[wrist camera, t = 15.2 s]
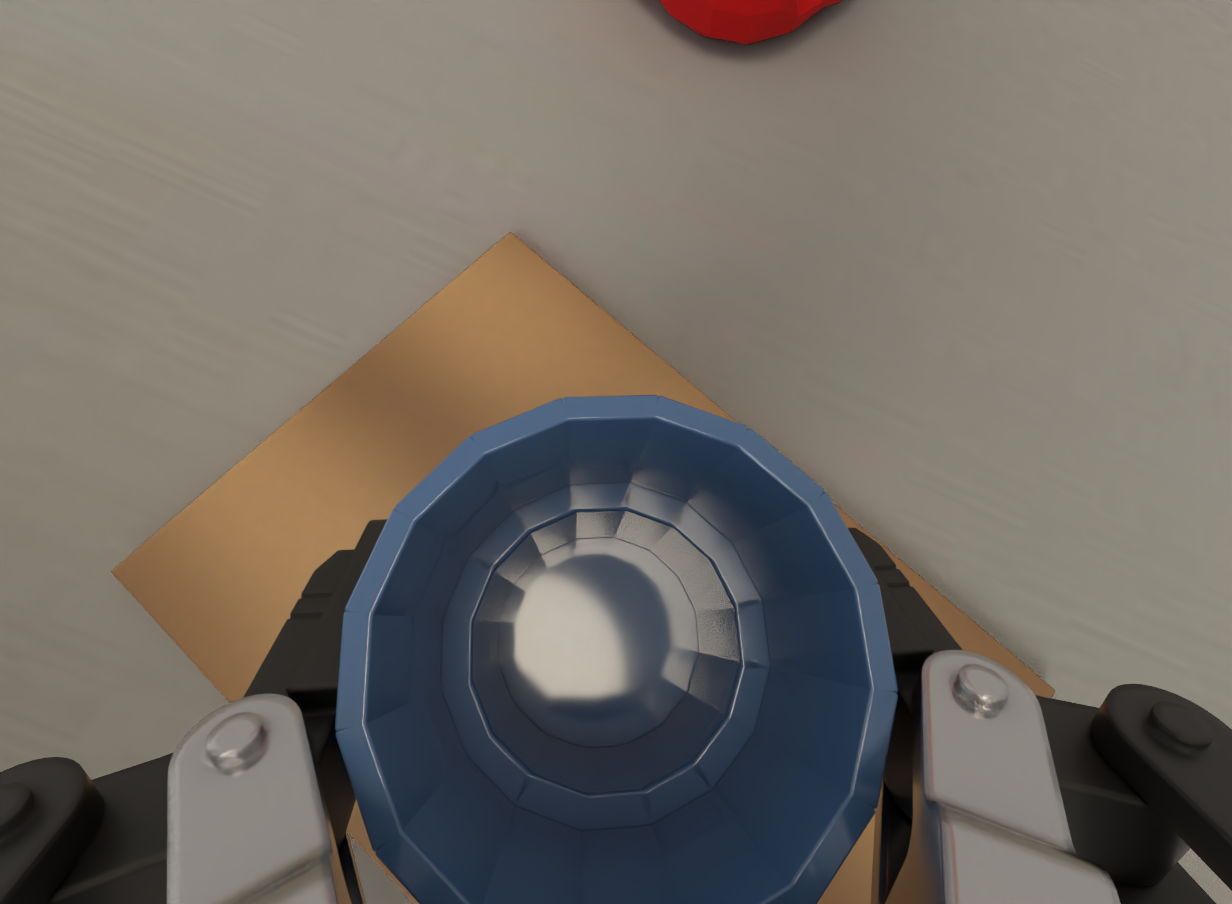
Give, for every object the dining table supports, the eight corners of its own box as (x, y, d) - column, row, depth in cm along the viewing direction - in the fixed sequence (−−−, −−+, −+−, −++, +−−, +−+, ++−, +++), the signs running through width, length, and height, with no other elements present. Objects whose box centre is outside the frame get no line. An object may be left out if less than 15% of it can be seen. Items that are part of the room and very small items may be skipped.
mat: (722, 1230, 12) (727, 1251, 12) (121, 572, 15) (109, 571, 14) (1045, 688, 16) (1057, 690, 15) (511, 238, 18) (510, 231, 18)
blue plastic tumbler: (607, 848, 13) (652, 1162, 5) (410, 647, 14) (211, 677, 6) (777, 625, 15) (994, 630, 7) (591, 459, 16) (605, 304, 8)
